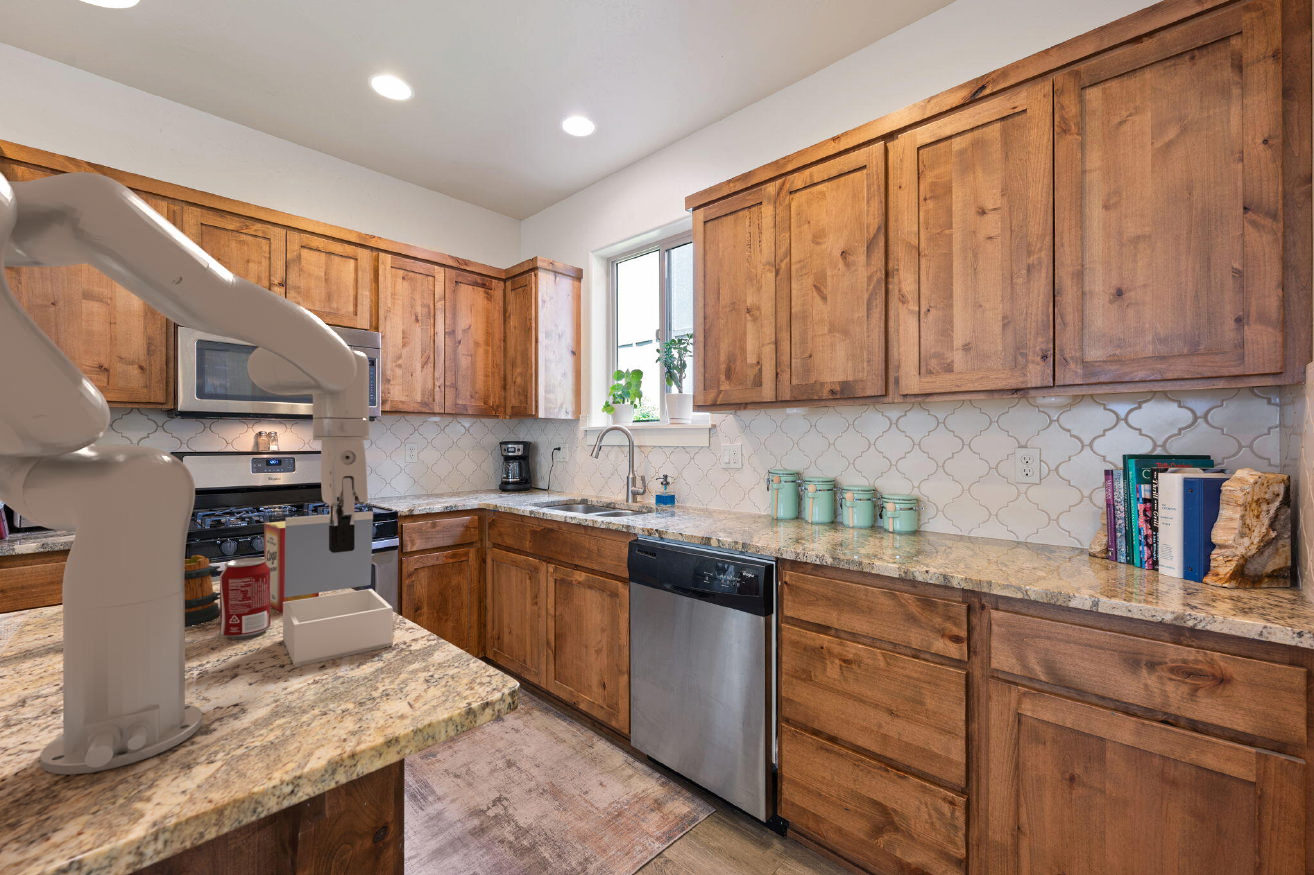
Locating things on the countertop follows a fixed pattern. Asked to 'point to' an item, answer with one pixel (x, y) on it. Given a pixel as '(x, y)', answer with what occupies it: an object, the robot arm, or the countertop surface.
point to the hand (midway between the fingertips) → (341, 550)
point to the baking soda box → (278, 565)
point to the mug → (199, 591)
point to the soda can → (244, 598)
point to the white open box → (336, 626)
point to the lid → (325, 556)
